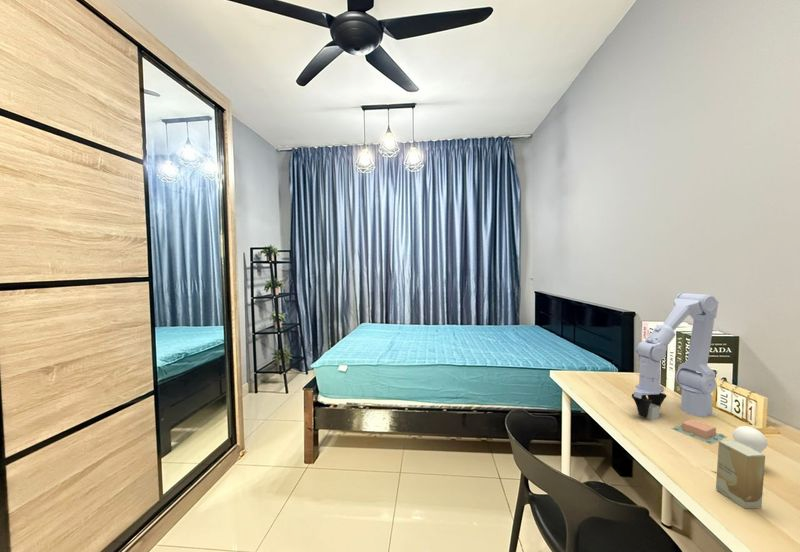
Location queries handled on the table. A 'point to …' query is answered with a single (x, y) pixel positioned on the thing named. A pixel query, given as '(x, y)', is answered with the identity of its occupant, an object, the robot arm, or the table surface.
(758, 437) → the lightbulb
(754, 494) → the skincare box
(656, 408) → the grey brick
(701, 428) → the base brick
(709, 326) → the robot arm
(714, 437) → the build plate
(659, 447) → the table surface
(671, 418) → the table surface
